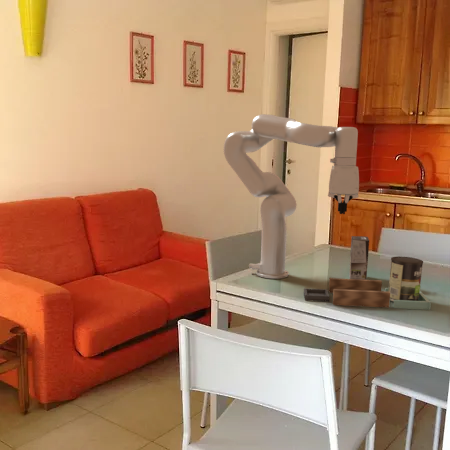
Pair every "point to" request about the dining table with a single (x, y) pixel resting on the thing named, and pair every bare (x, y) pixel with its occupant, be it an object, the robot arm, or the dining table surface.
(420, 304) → the dock
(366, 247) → the coffee box
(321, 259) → the dining table surface
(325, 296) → the tray
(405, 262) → the coffee can
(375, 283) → the channel
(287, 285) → the dining table surface
